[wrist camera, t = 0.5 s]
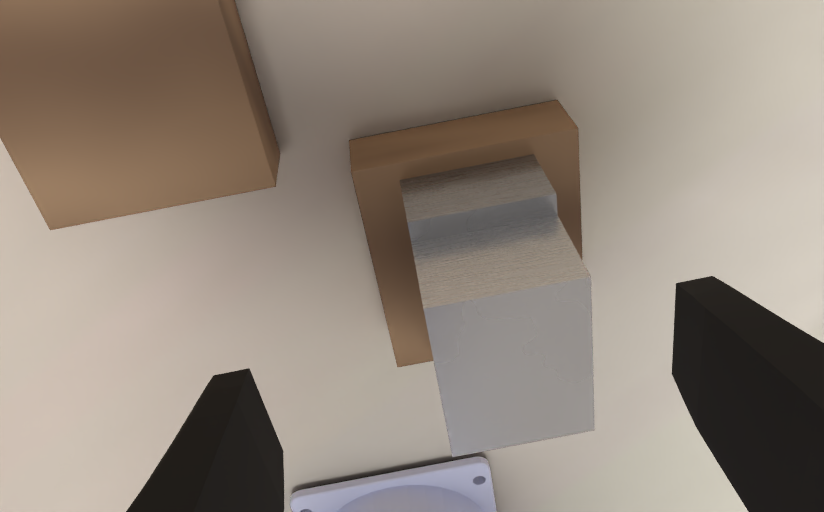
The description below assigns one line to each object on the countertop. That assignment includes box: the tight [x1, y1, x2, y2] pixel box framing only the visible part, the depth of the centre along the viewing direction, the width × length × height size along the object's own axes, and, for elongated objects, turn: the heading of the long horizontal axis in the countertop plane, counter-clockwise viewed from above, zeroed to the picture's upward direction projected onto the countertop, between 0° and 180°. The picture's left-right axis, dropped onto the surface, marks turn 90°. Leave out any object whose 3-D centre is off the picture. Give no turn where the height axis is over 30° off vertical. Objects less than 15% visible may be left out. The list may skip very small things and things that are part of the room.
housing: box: [400, 154, 595, 457], centre depth 18 cm, size 6×4×5 cm, turn 9°
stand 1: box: [0, 0, 280, 230], centre depth 17 cm, size 7×6×2 cm
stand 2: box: [349, 100, 582, 367], centre depth 21 cm, size 7×6×2 cm
